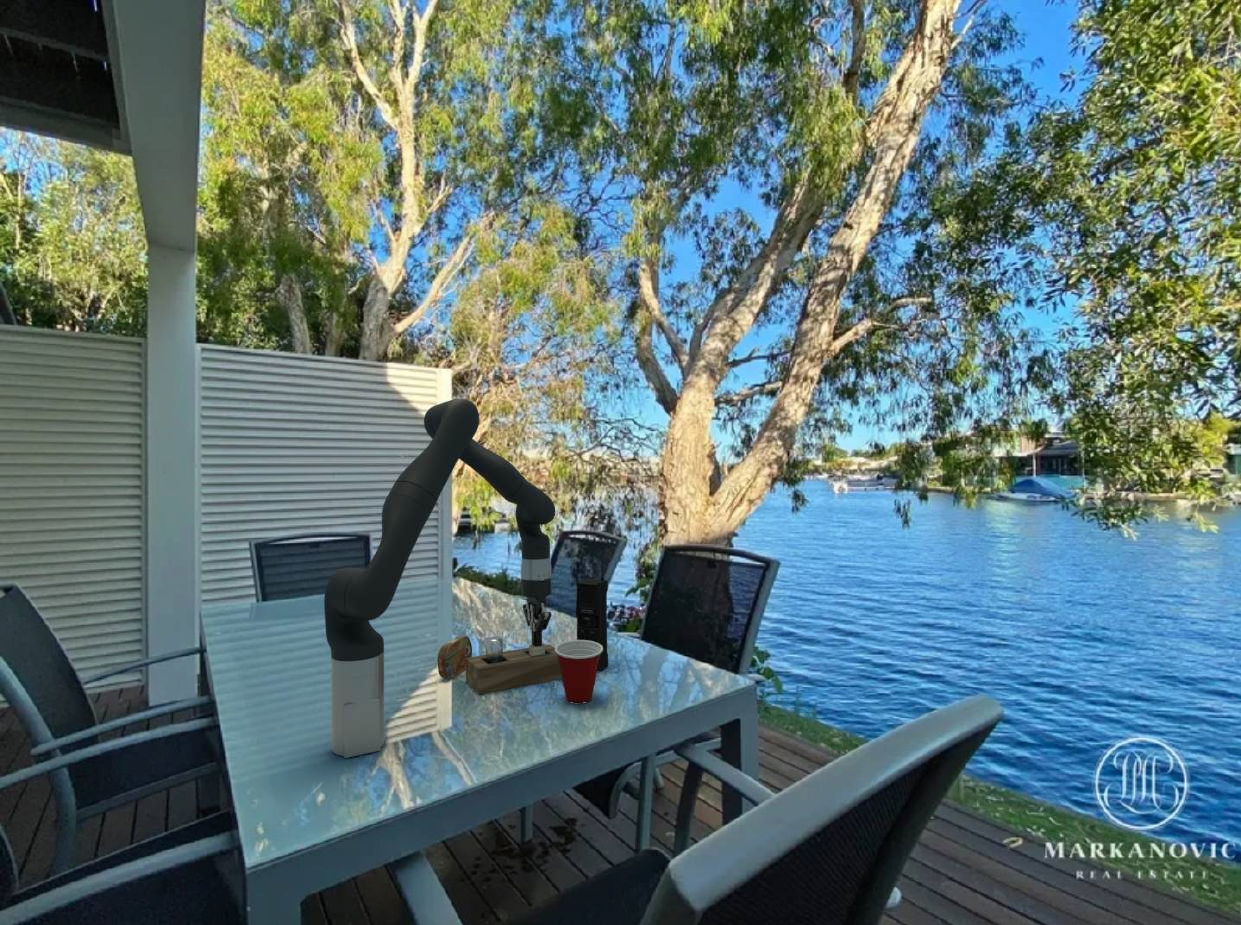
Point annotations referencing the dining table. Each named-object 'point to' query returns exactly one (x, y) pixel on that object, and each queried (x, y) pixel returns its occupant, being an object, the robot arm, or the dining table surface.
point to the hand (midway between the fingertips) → (537, 645)
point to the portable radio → (593, 614)
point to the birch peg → (536, 650)
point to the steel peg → (494, 649)
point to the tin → (454, 657)
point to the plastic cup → (578, 668)
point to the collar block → (512, 670)
